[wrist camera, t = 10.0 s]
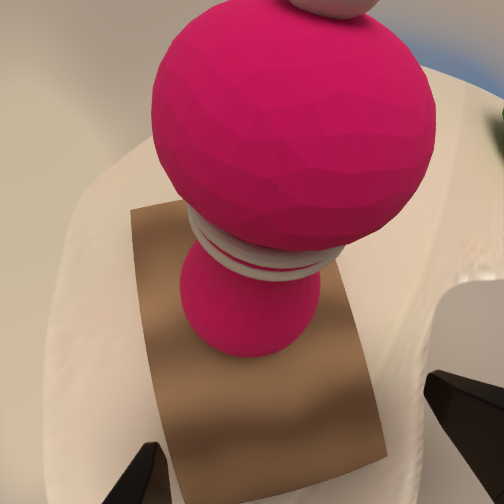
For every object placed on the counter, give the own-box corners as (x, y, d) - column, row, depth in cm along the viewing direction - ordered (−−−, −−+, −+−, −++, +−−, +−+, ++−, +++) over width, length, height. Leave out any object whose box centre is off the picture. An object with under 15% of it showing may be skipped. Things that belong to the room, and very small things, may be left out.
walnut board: (373, 450, 20) (387, 455, 17) (191, 498, 17) (187, 510, 15) (300, 196, 27) (306, 180, 25) (138, 225, 25) (130, 210, 23)
